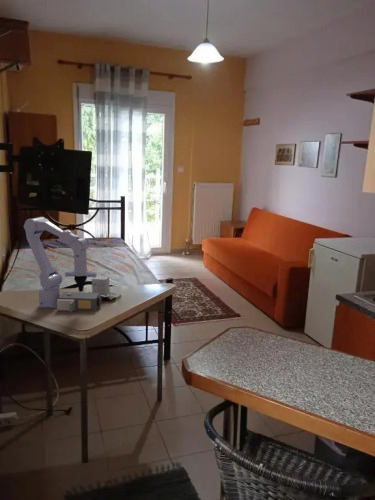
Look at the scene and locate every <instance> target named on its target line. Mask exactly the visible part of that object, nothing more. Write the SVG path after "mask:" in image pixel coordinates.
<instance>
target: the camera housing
mask: <svg viewBox="0 0 375 500" xmlns="http://www.w3.org/2000/svg"><path fill="white" fill-rule="evenodd" d="M58 299H71V300H75V310H74V311H95V312H96V311H97V309H99V308H100V307H101V305H102V298H101V297H100V293H92V292H85V291H82V292H79V291H78V292H77V291H76V292H74V291H64V292H62V293H61V294H60V296H59V297H58Z"/></svg>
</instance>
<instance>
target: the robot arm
mask: <svg viewBox="0 0 375 500" xmlns="http://www.w3.org/2000/svg"><path fill="white" fill-rule="evenodd" d="M23 229H24V230H25V236H26V237H25V238H26V241H27V242H28V244H29V247H30V249H31V252H32V254H33V256H34V259H35V261H36V263H37V266H38V268H39V270H40V273H39V276H38V278H39V281H40V282H39V283H40V286H41V287H40V288H39V290H38V308H53V309H54V308H56V309H57V300H58V297H59V296H60V295H61V294H60V293H61V291H60V286H61V284H62V282H63V278H62V275H61V274H60V273H59V271H58V269H56V268H55V267H53V266H52V264H51V262H50V259H49V256H48V254H47V252H46V251H45V247H44V245H43V243H42V241H41V239H40V237H41V235H42V233H43V232H44V231H46V232H48V233H50V234H52V235H55V236H57V237H59V240H60V241H61V242H62V243H64V244H65V245H68V246H69V247H70V248H71V250H72V252H73V253H72V254H73V262H74V263H73V264H74V265H73V267H74V268H73V269H74V270H73V271H65V272H64V277H66V278H67V277H74V278H73V279H74V280H73V281H74V282H75V283H76V286H77V287H78V292H84V287H85V283H86V281H87V279H88V278H95V277H96V276H97V272H93V271H88V267H87V266H88V265H87V263H88V261H87V260H88V259H87V249H88V248H89V245H90V244H89V240H88V239H86V238H85V237H83V236H82V237H80V236H79V235H76V234H74V233H72V231H71V230H63V229H61V228H59V227H58V226H57V225H55V224H54V223H52V222H51V221H49V219H48V218H46V217H44V216H37V217H35V218H28V219H26V220H25V221H24V225H23Z"/></svg>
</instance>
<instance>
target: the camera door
mask: <svg viewBox="0 0 375 500" xmlns="http://www.w3.org/2000/svg"><path fill="white" fill-rule="evenodd" d="M56 309H57V311H69V312H73V311H74V312H75V311H76V310H75V300H71V299H58V300H57V308H56Z"/></svg>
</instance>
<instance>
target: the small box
mask: <svg viewBox="0 0 375 500" xmlns="http://www.w3.org/2000/svg"><path fill="white" fill-rule="evenodd" d="M91 293H100V295H105V296H107V295H108V294H109V293H111V291H110V276H100V275H99V276H98V275H96V277H95V278H94V277H91Z"/></svg>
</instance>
